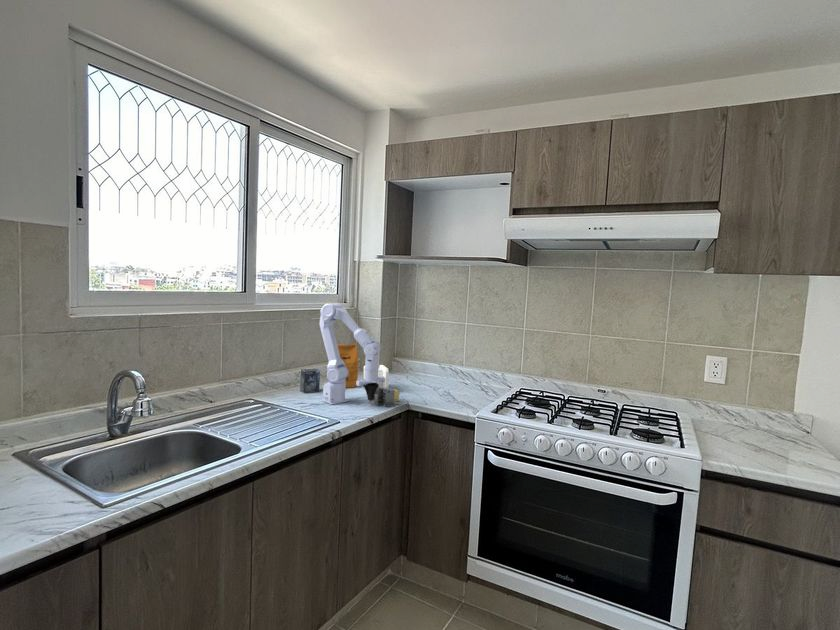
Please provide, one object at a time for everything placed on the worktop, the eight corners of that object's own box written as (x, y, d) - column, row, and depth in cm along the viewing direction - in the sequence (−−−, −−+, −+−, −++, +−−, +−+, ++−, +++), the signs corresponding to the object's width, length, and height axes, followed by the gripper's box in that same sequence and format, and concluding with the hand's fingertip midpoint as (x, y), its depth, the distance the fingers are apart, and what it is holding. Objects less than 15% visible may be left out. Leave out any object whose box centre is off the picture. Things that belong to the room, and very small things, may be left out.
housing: (388, 407, 195) (389, 392, 195) (369, 400, 205) (370, 386, 205) (397, 405, 199) (398, 391, 198) (378, 398, 209) (378, 385, 208)
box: (303, 393, 212) (304, 371, 211) (299, 390, 216) (300, 369, 216) (319, 391, 216) (320, 370, 216) (315, 389, 221) (315, 368, 220)
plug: (374, 405, 196) (375, 394, 196) (369, 404, 199) (370, 393, 199) (398, 401, 206) (399, 390, 206) (393, 399, 209) (394, 389, 208)
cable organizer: (388, 392, 221) (389, 369, 220) (367, 393, 218) (368, 370, 217) (381, 385, 235) (382, 364, 234) (361, 386, 232) (362, 364, 231)
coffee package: (329, 384, 232) (331, 342, 230) (352, 383, 238) (354, 342, 236) (335, 389, 223) (337, 345, 221) (359, 387, 229) (360, 345, 227)
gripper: (363, 372, 188) (362, 404, 189) (390, 369, 198) (388, 399, 199) (353, 369, 193) (352, 400, 194) (380, 366, 203) (378, 396, 204)
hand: (370, 400), depth 197 cm, fingers closed
